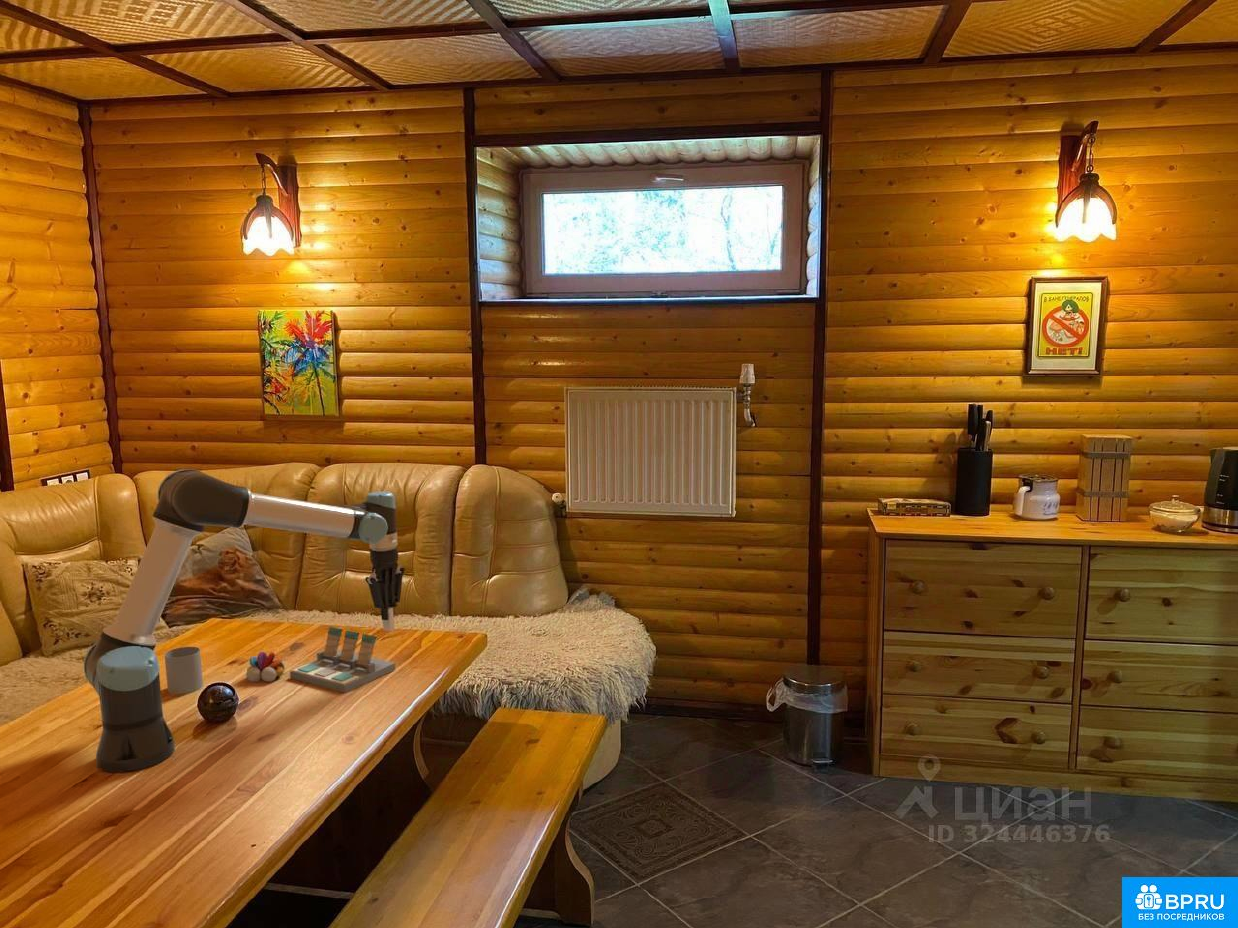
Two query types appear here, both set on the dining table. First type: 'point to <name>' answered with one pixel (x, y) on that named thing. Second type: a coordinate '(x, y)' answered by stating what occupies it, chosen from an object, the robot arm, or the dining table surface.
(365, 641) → the lever
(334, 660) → the switch board
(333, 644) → the lever
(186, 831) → the dining table surface
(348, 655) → the lever
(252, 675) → the rainbow disc wheeled toy
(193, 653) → the cup
